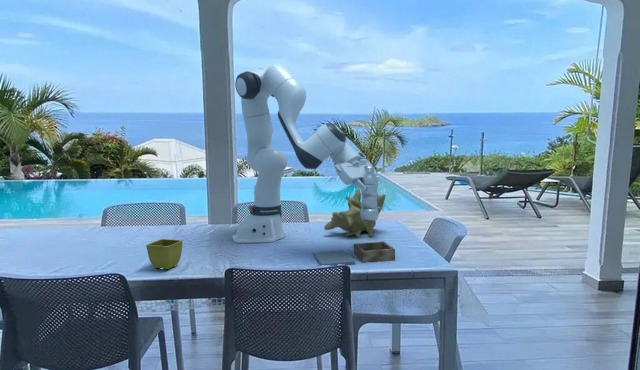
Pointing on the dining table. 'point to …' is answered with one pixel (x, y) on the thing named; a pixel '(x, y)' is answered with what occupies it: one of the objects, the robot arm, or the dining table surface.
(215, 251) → the dining table surface
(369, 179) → the plastic bottle
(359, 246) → the walnut collar
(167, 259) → the flower pot
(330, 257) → the rubber mat
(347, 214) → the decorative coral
